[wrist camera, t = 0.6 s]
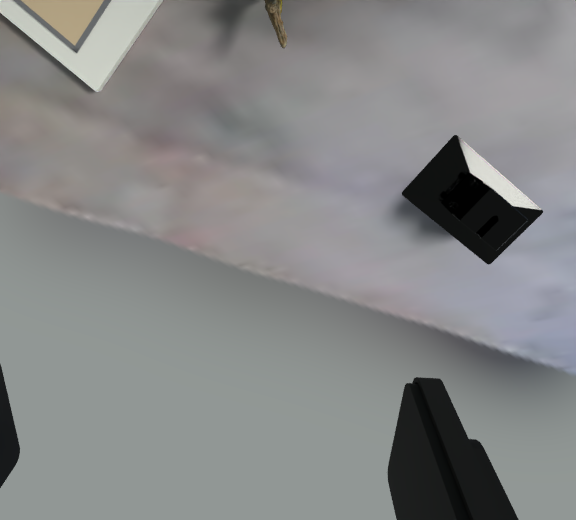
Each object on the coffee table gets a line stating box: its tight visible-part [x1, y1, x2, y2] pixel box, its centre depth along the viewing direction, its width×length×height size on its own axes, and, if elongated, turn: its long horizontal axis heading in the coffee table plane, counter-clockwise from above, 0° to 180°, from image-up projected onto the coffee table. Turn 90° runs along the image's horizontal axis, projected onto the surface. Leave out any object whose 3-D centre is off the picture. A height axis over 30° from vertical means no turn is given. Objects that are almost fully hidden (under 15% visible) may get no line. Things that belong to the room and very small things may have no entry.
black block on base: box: [402, 135, 543, 264], centre depth 33 cm, size 12×7×5 cm, turn 52°
